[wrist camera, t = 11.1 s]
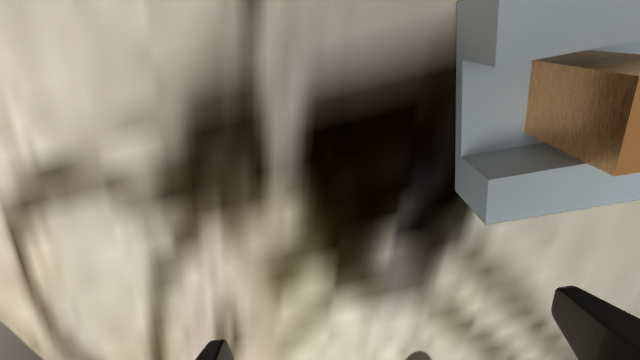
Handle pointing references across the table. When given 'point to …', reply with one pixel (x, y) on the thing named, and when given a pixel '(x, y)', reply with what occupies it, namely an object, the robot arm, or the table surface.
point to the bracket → (512, 98)
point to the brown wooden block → (588, 107)
